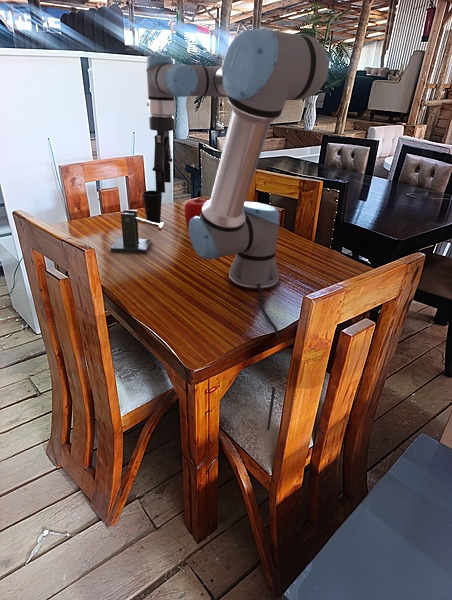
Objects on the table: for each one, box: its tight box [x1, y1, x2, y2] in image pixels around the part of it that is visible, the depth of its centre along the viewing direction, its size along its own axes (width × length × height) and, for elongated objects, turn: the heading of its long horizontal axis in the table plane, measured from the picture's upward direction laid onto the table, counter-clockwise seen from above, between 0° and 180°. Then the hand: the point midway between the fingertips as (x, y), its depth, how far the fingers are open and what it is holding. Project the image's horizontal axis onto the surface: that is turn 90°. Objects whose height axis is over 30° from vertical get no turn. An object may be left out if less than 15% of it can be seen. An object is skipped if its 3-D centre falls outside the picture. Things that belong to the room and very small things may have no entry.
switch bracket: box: [110, 209, 152, 255], centre depth 137 cm, size 12×10×13 cm
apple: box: [183, 197, 208, 231], centre depth 154 cm, size 10×10×14 cm
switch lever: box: [126, 212, 165, 232], centre depth 136 cm, size 13×6×2 cm, turn 90°
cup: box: [142, 190, 163, 224], centre depth 163 cm, size 8×8×12 cm
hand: (163, 187), depth 130 cm, fingers open, 13 cm apart
